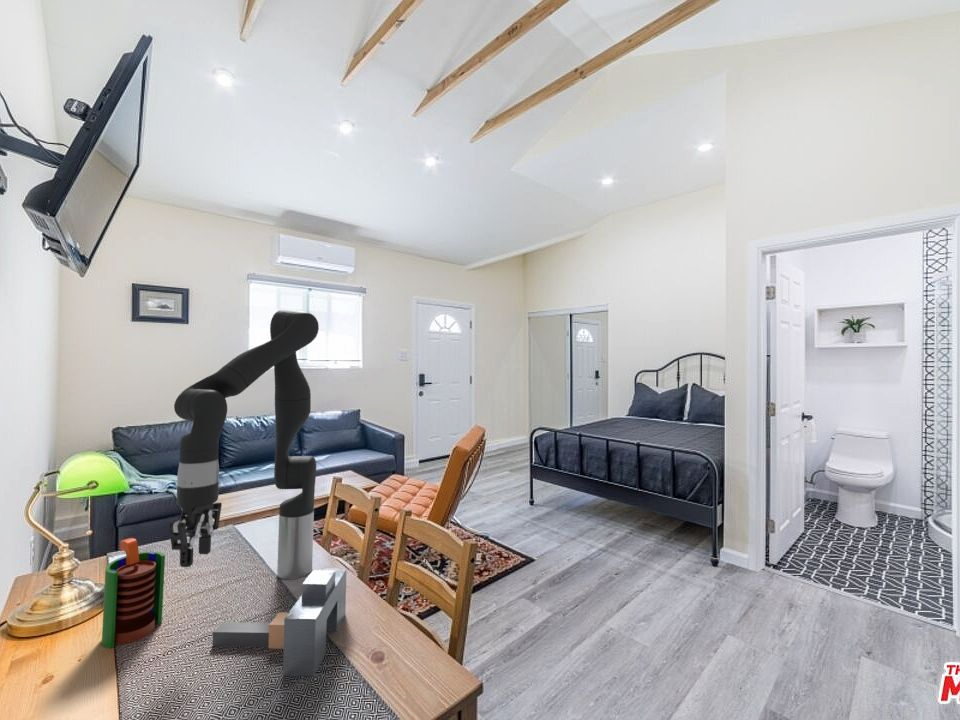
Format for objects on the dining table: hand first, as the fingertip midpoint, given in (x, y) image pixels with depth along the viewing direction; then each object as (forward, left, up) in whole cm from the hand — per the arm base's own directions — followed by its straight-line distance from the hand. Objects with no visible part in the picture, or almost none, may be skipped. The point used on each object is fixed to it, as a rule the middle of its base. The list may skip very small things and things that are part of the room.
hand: (195, 559), depth 90 cm
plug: (+8, +11, -18) cm, 22 cm away
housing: (+16, +22, -17) cm, 32 cm away
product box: (-37, -14, -18) cm, 43 cm away
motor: (-11, -11, -18) cm, 23 cm away
